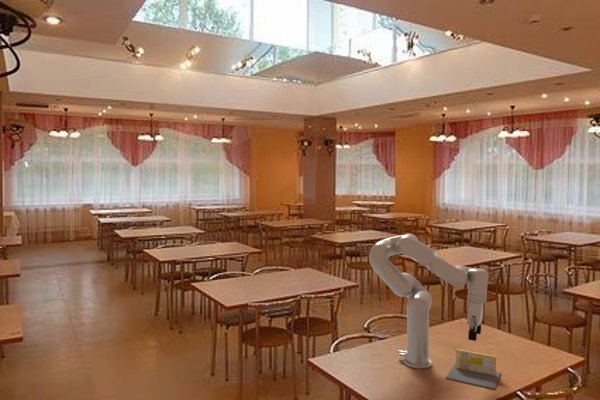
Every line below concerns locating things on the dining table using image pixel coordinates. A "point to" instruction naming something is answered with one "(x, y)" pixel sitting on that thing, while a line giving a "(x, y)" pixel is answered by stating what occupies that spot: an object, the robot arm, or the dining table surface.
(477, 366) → the candy box
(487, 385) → the mat
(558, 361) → the dining table surface
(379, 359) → the dining table surface
